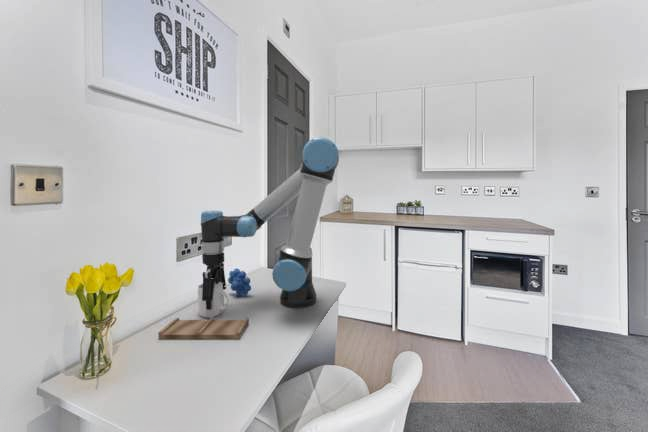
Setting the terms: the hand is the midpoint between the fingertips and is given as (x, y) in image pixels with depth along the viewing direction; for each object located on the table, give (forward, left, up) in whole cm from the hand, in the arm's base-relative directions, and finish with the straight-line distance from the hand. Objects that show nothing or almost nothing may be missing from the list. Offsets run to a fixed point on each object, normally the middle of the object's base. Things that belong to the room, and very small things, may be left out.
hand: (215, 311), depth 104 cm
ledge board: (-3, +14, 0) cm, 14 cm away
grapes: (-3, -17, -1) cm, 17 cm away
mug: (0, +1, -1) cm, 1 cm away
